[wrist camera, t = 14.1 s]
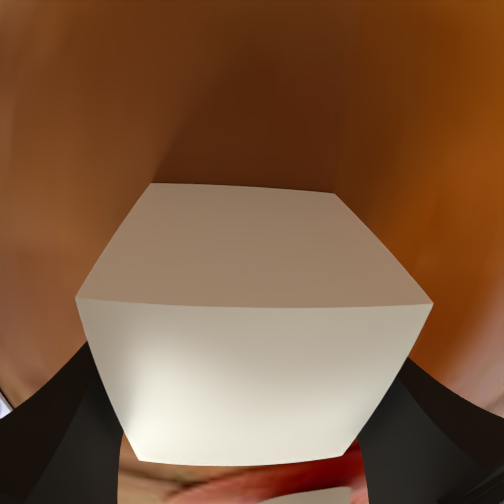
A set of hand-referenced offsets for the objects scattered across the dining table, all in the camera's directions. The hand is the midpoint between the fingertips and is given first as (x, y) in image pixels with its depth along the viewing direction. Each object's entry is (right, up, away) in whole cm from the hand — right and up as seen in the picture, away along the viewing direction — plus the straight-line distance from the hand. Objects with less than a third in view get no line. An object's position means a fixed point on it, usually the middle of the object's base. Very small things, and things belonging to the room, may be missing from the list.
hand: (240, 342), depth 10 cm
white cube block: (0, +2, +2) cm, 3 cm away
